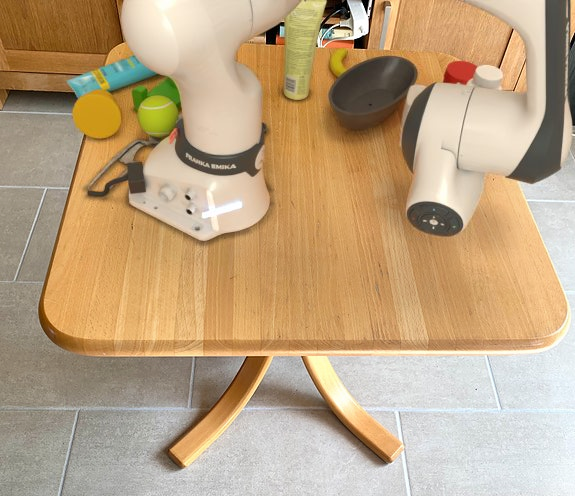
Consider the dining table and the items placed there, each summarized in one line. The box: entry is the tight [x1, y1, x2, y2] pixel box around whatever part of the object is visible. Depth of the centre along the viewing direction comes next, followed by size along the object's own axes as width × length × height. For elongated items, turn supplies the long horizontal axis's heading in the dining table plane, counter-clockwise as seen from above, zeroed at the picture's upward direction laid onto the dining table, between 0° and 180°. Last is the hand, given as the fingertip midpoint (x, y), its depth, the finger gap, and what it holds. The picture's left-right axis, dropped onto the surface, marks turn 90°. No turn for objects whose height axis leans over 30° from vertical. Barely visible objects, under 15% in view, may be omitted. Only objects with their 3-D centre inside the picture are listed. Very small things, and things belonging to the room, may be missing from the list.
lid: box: [443, 60, 478, 85], centre depth 108 cm, size 6×6×2 cm
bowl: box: [328, 55, 419, 132], centre depth 114 cm, size 12×22×6 cm, turn 140°
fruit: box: [329, 47, 349, 78], centre depth 124 cm, size 10×2×5 cm
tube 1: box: [66, 54, 159, 100], centre depth 117 cm, size 7×5×19 cm
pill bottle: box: [466, 64, 504, 90], centre depth 93 cm, size 5×5×10 cm
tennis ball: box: [137, 95, 180, 138], centre depth 105 cm, size 7×7×7 cm
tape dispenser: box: [131, 77, 182, 112], centre depth 114 cm, size 15×7×5 cm, turn 148°
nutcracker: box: [86, 135, 161, 191], centre depth 103 cm, size 16×1×5 cm
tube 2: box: [282, 0, 328, 101], centre depth 111 cm, size 6×5×20 cm
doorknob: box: [71, 89, 123, 140], centre depth 107 cm, size 8×8×8 cm
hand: (482, 93), depth 93 cm, fingers closed on pill bottle, 5 cm apart
